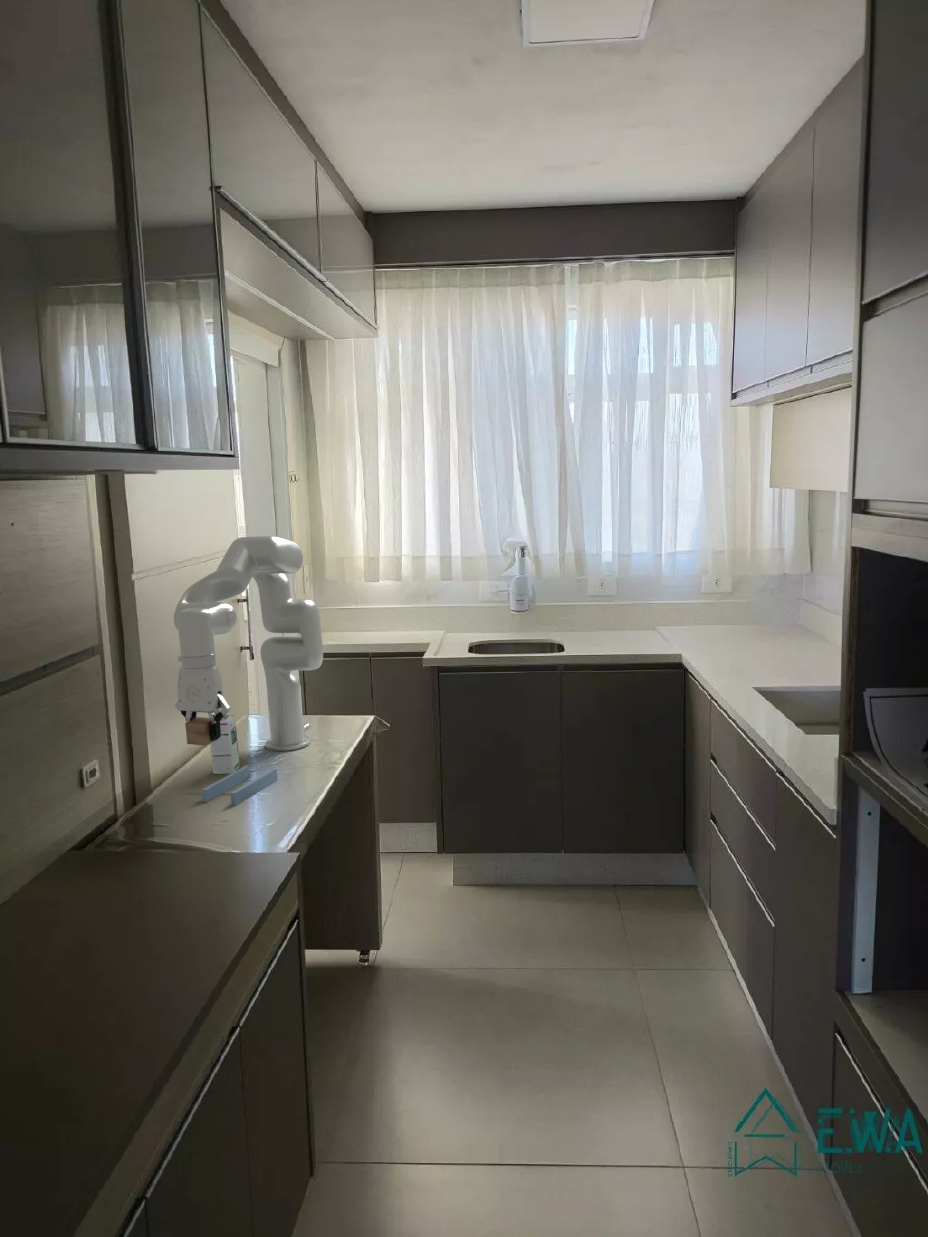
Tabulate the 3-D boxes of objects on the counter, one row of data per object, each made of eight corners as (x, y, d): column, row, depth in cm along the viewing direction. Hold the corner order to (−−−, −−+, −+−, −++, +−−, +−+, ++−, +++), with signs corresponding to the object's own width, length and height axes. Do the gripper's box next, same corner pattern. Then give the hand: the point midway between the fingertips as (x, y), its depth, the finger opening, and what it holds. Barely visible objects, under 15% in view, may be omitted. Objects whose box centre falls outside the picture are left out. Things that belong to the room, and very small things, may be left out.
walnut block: (200, 737, 211) (198, 717, 210) (218, 739, 209) (216, 718, 208) (187, 743, 206) (185, 723, 206) (205, 745, 205) (203, 724, 204)
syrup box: (234, 773, 235) (230, 720, 233) (212, 774, 235) (207, 721, 233) (240, 766, 241) (236, 714, 238) (218, 767, 241) (214, 715, 239)
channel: (246, 776, 232) (245, 765, 232) (277, 780, 229) (276, 768, 229) (202, 801, 216) (201, 789, 215) (235, 805, 212) (234, 793, 212)
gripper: (157, 663, 205) (165, 740, 208) (219, 667, 199) (226, 745, 202) (178, 656, 212) (185, 731, 215) (239, 659, 206) (245, 736, 209)
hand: (205, 737), depth 209 cm, fingers closed on walnut block, 5 cm apart
